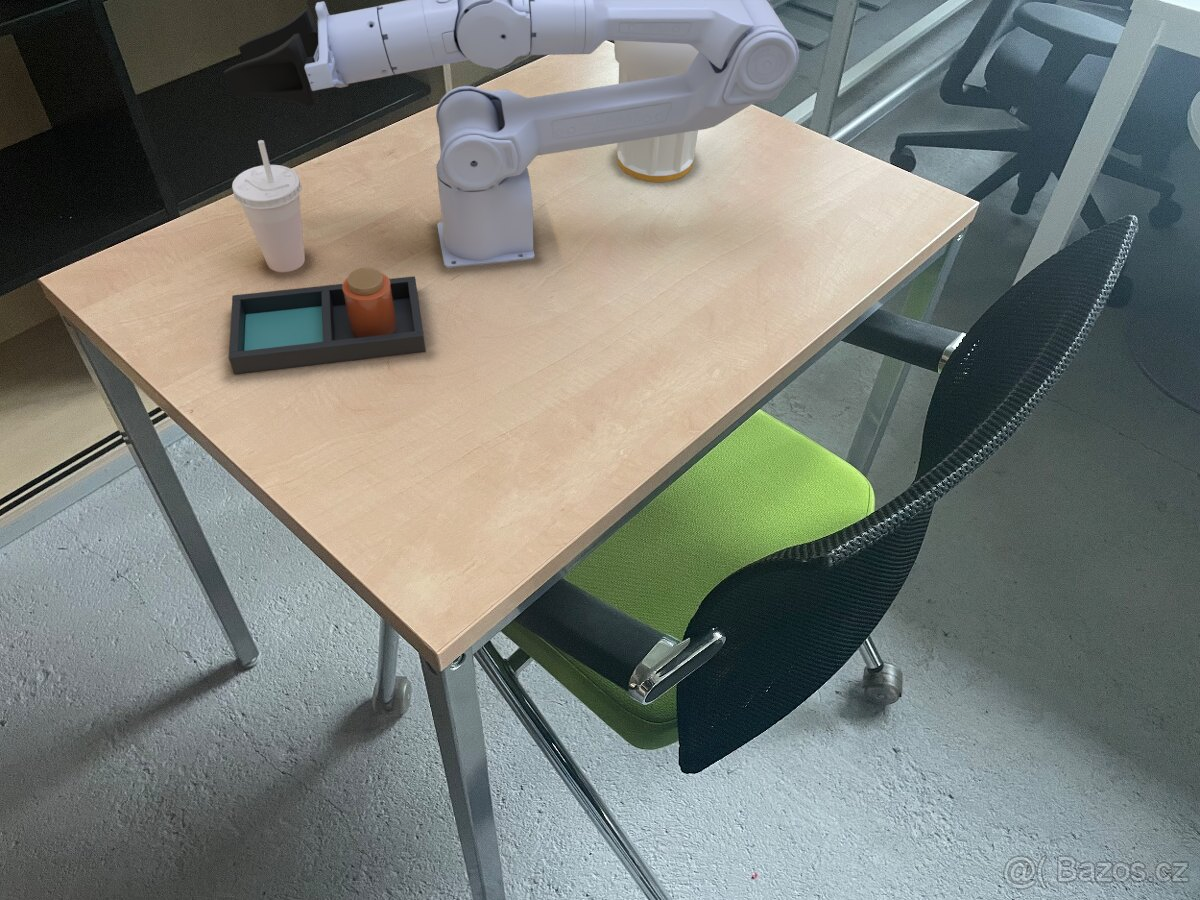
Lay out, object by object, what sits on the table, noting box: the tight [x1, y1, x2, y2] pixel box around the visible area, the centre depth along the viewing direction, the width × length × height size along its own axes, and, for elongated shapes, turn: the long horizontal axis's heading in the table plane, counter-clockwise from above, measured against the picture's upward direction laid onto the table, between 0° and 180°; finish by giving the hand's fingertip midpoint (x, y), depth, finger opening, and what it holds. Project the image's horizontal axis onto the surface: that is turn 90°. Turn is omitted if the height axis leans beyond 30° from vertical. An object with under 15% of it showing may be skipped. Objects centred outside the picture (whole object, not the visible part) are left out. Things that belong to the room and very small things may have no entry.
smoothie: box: [231, 139, 306, 273], centre depth 94 cm, size 6×6×14 cm
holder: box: [228, 275, 427, 375], centre depth 91 cm, size 9×17×2 cm, turn 103°
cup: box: [613, 40, 699, 183], centre depth 108 cm, size 11×11×17 cm
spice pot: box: [342, 267, 397, 338], centre depth 90 cm, size 4×4×6 cm
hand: (236, 70), depth 85 cm, fingers open, 7 cm apart
